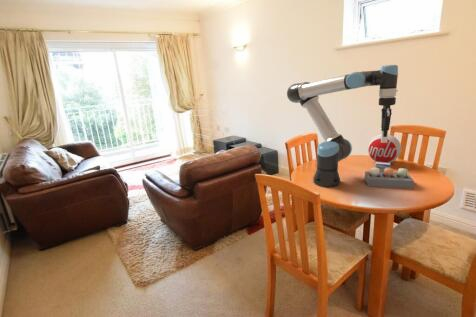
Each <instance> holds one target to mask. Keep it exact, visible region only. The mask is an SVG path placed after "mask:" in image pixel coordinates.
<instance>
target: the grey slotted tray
mask: <svg viewBox="0 0 476 317" xmlns="http://www.w3.org/2000/svg"><path fill="white" fill-rule="evenodd" d="M370 172H371V170H370V171H369V170H368V171H364V180H365V182H366V185H367V187H376V188H379V187H380V188H393V189H395V188H396V189H413V188H414V182H415V180H414V179H413V178H412V177H411V176H410V174H408V173H407V177H405V178H399V176H398V171H397V172H396V171H395V172H394V171H393V176H391V178H390V177H385V175H384V172H379V175H378V176H377V177H372V175H371V174H370Z"/></svg>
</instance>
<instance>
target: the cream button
mask: <svg viewBox="0 0 476 317" xmlns="http://www.w3.org/2000/svg"><path fill="white" fill-rule="evenodd" d="M379 170H380V169H379V168H376V167H375V166H374V167H373V166H372V167H370V171H371V172H370V174H371V175H372V177H377V176H378V175H379Z"/></svg>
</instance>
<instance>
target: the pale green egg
mask: <svg viewBox="0 0 476 317" xmlns="http://www.w3.org/2000/svg"><path fill="white" fill-rule="evenodd" d="M408 171H409V170H408V168H402V167H399V168H398V170H397V173H398V176H399V178H405V177H407V173H408Z"/></svg>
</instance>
